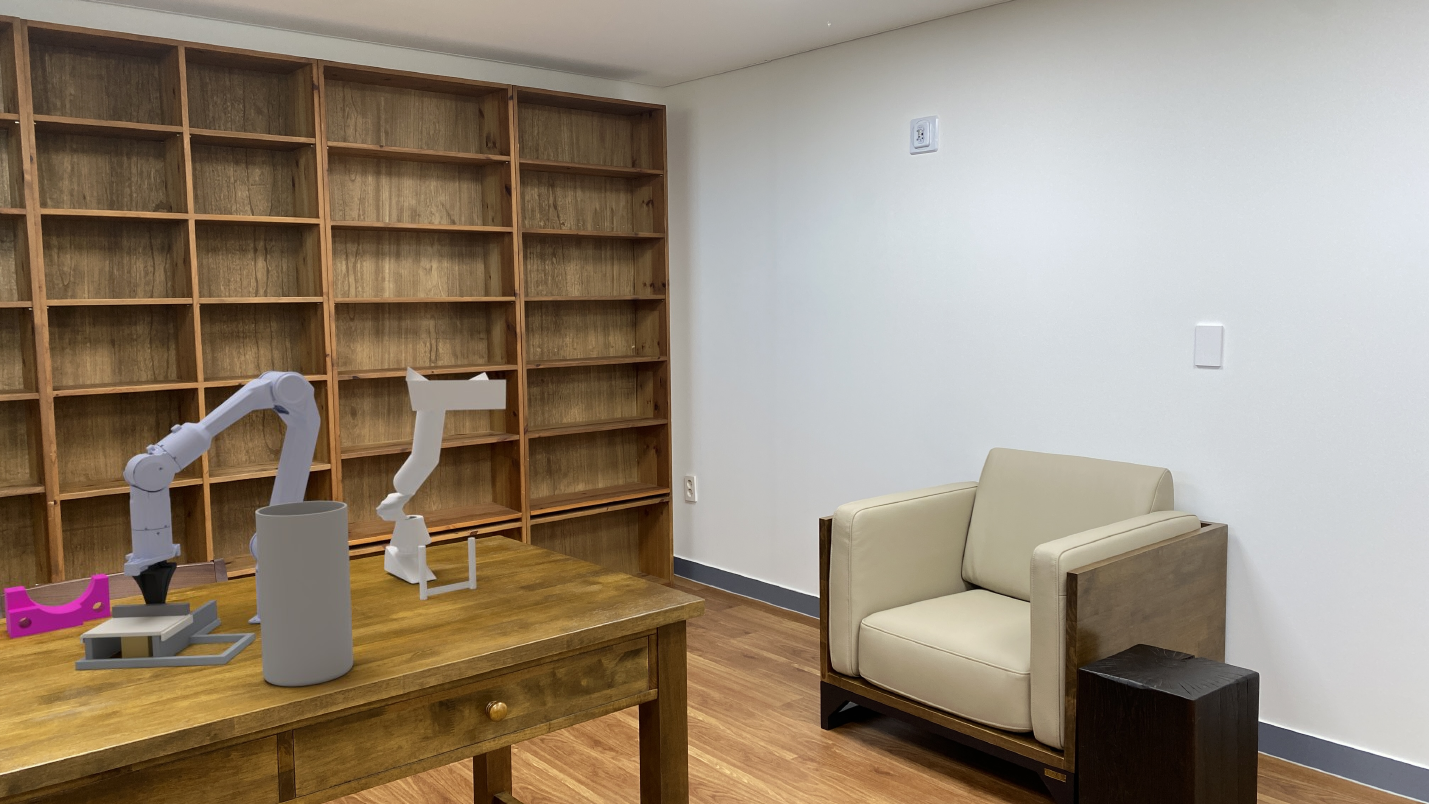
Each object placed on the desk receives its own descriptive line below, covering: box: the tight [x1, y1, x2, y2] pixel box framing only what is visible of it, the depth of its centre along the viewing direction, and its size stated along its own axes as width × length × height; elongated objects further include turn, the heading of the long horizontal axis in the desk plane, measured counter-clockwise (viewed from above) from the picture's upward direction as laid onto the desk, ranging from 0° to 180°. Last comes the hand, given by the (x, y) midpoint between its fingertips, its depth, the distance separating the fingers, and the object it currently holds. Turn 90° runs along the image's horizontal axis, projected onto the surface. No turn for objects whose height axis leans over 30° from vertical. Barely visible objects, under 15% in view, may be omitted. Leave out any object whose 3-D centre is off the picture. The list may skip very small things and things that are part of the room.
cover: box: [79, 602, 193, 645], centre depth 155 cm, size 12×10×3 cm
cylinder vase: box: [254, 500, 354, 687], centre depth 145 cm, size 12×12×25 cm
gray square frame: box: [74, 599, 256, 671], centre depth 160 cm, size 22×22×4 cm
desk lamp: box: [375, 366, 507, 601], centre depth 188 cm, size 38×18×45 cm, turn 42°
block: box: [121, 636, 153, 658], centre depth 155 cm, size 4×4×4 cm
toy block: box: [3, 573, 112, 639], centre depth 172 cm, size 15×6×8 cm, turn 132°
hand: (156, 608), depth 160 cm, fingers closed
